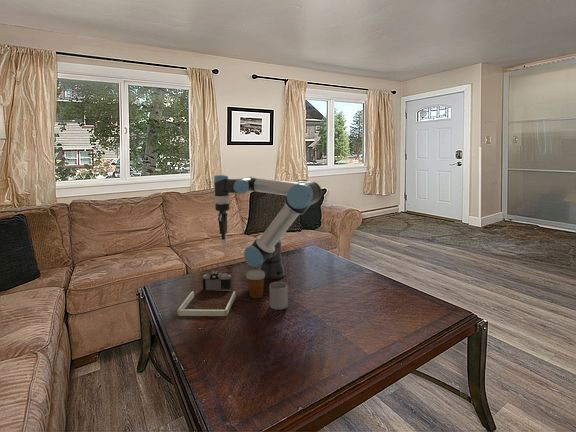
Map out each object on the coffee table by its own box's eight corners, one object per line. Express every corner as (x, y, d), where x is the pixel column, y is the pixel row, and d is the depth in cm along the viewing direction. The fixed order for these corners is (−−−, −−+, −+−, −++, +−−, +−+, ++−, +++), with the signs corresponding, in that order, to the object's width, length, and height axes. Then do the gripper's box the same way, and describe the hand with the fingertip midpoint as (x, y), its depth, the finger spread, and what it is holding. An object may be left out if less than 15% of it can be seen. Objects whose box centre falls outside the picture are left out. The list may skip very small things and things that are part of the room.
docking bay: (235, 296, 174) (235, 291, 173) (226, 316, 153) (226, 310, 153) (192, 296, 175) (191, 291, 174) (177, 315, 154) (176, 310, 154)
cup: (269, 302, 167) (269, 282, 165) (286, 301, 167) (286, 281, 165) (270, 310, 158) (269, 289, 156) (288, 309, 159) (288, 288, 157)
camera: (234, 285, 188) (234, 267, 186) (230, 291, 179) (229, 273, 177) (207, 284, 190) (206, 266, 188) (201, 290, 181) (200, 272, 179)
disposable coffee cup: (250, 301, 168) (250, 277, 166) (243, 294, 176) (242, 271, 174) (268, 297, 172) (268, 273, 170) (261, 290, 180) (260, 268, 178)
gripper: (218, 201, 199) (220, 241, 204) (212, 205, 186) (214, 247, 191) (231, 201, 199) (233, 241, 203) (226, 205, 186) (228, 247, 191)
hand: (224, 244), depth 197 cm, fingers closed
